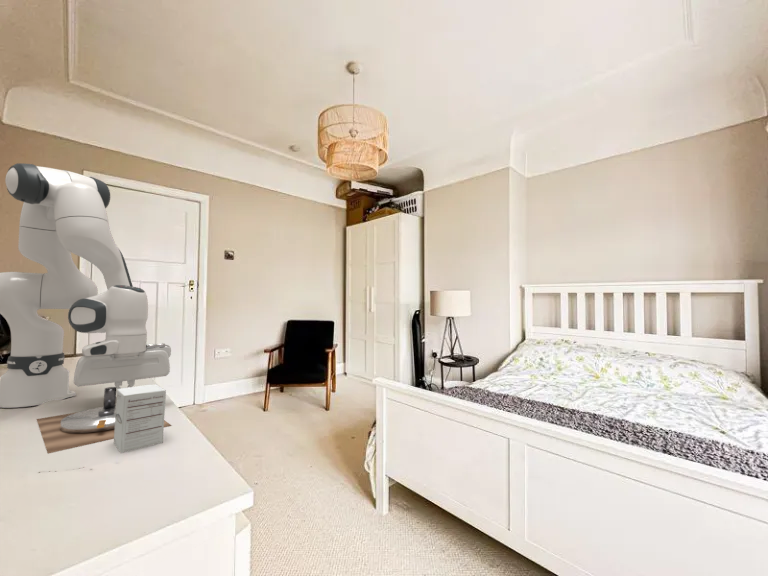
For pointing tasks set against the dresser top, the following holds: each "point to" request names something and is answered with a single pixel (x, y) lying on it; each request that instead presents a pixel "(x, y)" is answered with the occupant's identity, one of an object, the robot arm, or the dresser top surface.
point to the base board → (69, 435)
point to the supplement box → (139, 417)
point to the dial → (93, 416)
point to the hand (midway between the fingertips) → (123, 397)
